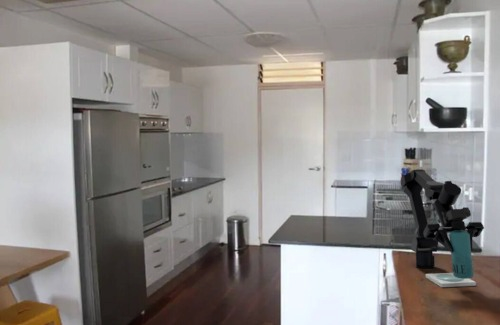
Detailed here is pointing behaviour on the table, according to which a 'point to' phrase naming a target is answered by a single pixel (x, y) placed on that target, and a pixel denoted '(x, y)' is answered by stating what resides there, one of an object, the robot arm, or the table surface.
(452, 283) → the pad
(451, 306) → the table surface
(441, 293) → the table surface
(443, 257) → the table surface
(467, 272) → the beverage bottle
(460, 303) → the table surface
